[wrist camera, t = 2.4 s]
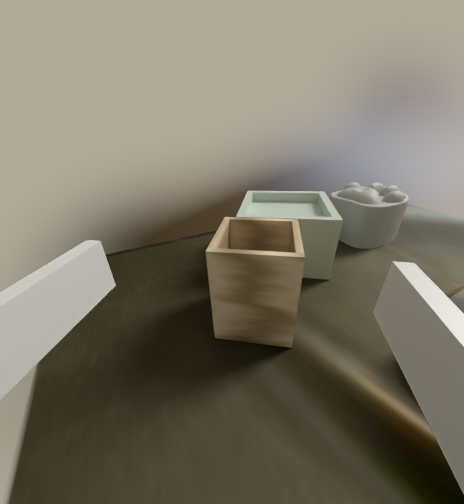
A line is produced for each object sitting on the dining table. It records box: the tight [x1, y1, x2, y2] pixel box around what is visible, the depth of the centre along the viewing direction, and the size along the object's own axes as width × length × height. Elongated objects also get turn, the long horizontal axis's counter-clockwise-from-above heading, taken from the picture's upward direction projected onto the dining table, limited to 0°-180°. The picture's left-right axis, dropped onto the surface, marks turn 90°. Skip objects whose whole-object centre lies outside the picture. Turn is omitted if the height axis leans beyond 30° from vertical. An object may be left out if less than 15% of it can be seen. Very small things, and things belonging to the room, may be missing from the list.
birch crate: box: [206, 217, 305, 348], centre depth 23 cm, size 8×8×10 cm
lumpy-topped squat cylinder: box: [329, 182, 409, 249], centre depth 40 cm, size 10×13×9 cm
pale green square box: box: [236, 191, 343, 280], centre depth 34 cm, size 13×13×8 cm
